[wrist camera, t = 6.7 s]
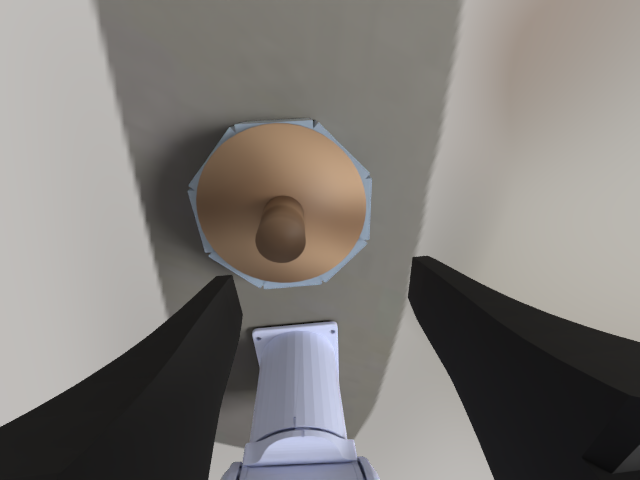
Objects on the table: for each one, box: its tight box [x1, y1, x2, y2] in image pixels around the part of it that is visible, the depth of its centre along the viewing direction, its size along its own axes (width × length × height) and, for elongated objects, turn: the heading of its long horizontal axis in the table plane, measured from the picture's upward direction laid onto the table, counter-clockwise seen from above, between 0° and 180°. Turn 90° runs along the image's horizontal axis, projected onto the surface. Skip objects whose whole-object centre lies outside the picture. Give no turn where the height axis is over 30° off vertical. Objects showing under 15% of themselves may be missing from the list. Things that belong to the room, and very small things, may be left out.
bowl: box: [188, 118, 372, 289], centre depth 18 cm, size 11×11×3 cm
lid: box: [196, 123, 366, 283], centre depth 14 cm, size 10×10×4 cm
